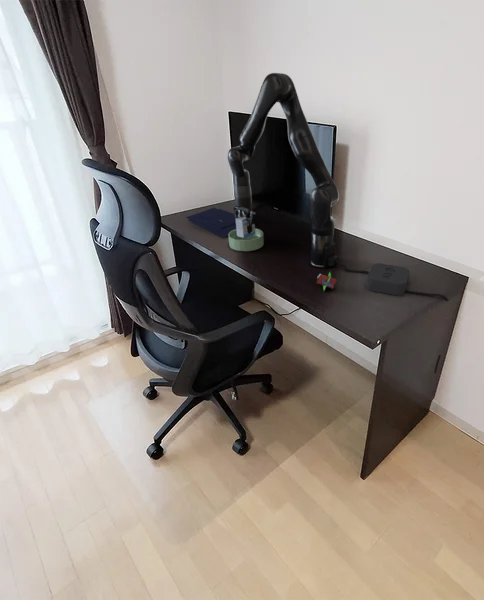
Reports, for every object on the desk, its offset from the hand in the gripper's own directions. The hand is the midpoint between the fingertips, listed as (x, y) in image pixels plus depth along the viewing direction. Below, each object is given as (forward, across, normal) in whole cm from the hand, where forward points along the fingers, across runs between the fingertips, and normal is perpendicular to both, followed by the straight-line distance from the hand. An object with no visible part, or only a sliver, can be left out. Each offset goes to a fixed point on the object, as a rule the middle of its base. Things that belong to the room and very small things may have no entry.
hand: (246, 231), depth 171 cm
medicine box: (+2, 0, 0) cm, 2 cm away
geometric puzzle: (+8, +54, -8) cm, 55 cm away
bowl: (+7, 0, 0) cm, 7 cm away
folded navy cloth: (+7, -30, +8) cm, 32 cm away
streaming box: (+8, +70, +10) cm, 71 cm away
